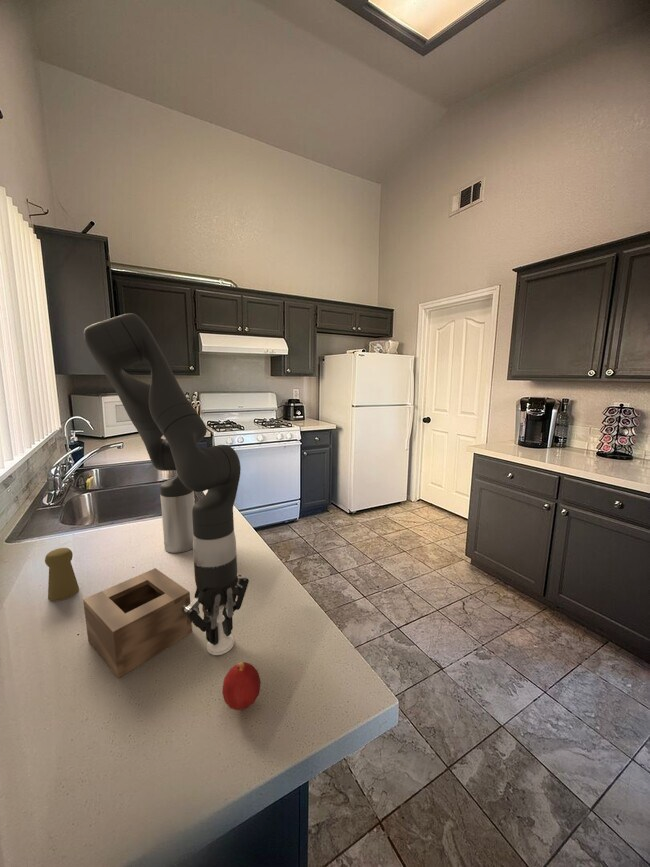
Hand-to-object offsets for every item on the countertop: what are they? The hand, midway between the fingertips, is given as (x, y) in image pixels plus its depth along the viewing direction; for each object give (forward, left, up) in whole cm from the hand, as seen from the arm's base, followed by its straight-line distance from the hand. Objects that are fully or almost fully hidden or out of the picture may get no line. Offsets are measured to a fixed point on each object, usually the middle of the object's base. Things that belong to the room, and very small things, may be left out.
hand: (219, 637), depth 67 cm
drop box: (+8, -15, -2) cm, 17 cm away
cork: (+13, -44, -2) cm, 46 cm away
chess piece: (0, 0, -2) cm, 2 cm away
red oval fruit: (+5, +13, -2) cm, 14 cm away
